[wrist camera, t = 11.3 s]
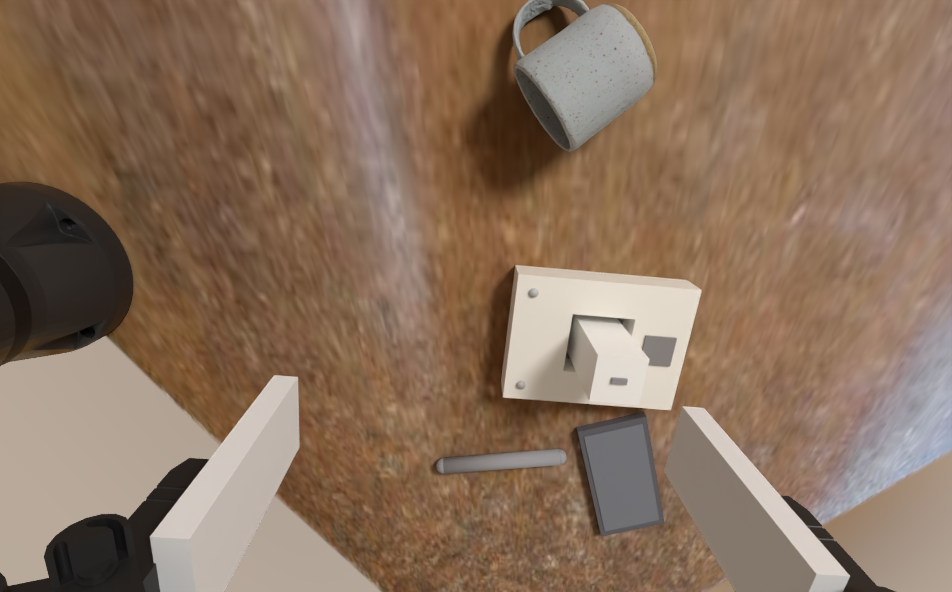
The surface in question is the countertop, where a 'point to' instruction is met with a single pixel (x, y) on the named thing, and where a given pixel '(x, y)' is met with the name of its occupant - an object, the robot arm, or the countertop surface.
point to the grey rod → (501, 461)
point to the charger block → (607, 360)
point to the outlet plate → (594, 294)
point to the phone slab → (621, 473)
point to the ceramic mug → (584, 69)
